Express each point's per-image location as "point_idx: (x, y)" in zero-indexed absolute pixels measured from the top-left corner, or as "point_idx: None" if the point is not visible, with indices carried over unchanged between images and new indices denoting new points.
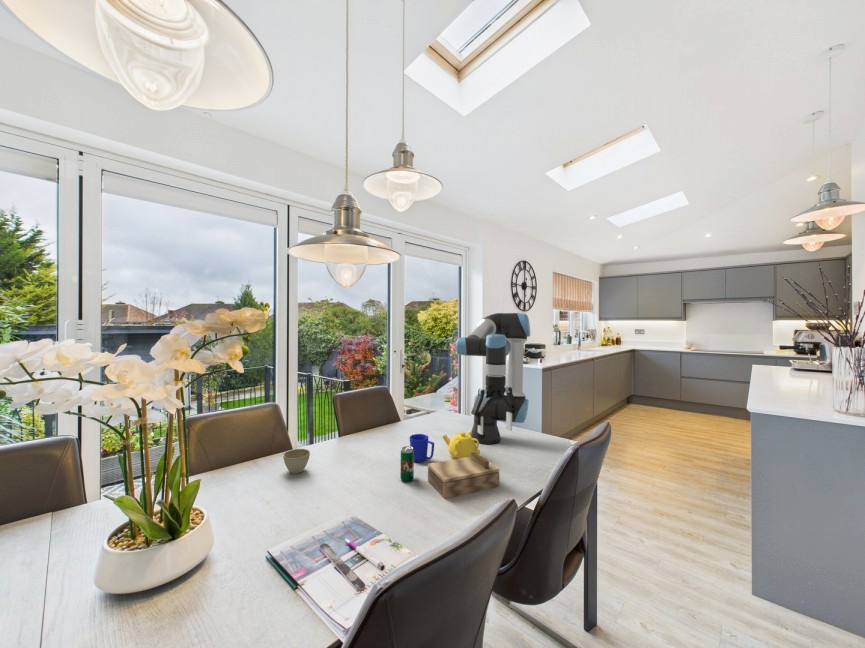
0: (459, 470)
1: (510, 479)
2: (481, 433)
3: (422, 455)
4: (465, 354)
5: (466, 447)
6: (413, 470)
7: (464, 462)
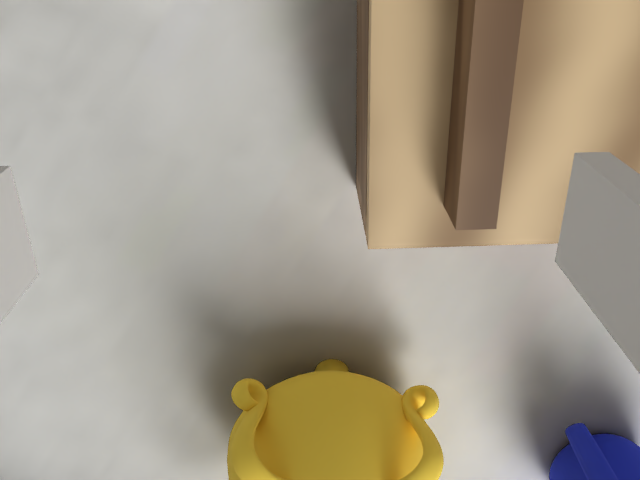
0: None
1: (180, 12)
2: (612, 158)
3: (620, 459)
4: None
5: (350, 426)
6: None
7: None
